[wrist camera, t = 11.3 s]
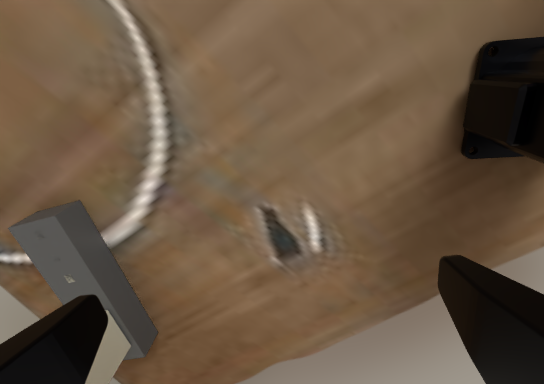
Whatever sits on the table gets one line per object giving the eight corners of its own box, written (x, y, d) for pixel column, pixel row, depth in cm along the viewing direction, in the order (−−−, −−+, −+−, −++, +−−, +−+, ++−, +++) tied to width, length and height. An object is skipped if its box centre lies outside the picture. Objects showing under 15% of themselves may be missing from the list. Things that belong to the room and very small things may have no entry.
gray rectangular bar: (79, 200, 22) (54, 215, 20) (158, 332, 27) (145, 357, 25) (36, 211, 23) (7, 228, 20) (121, 338, 28) (105, 363, 25)
